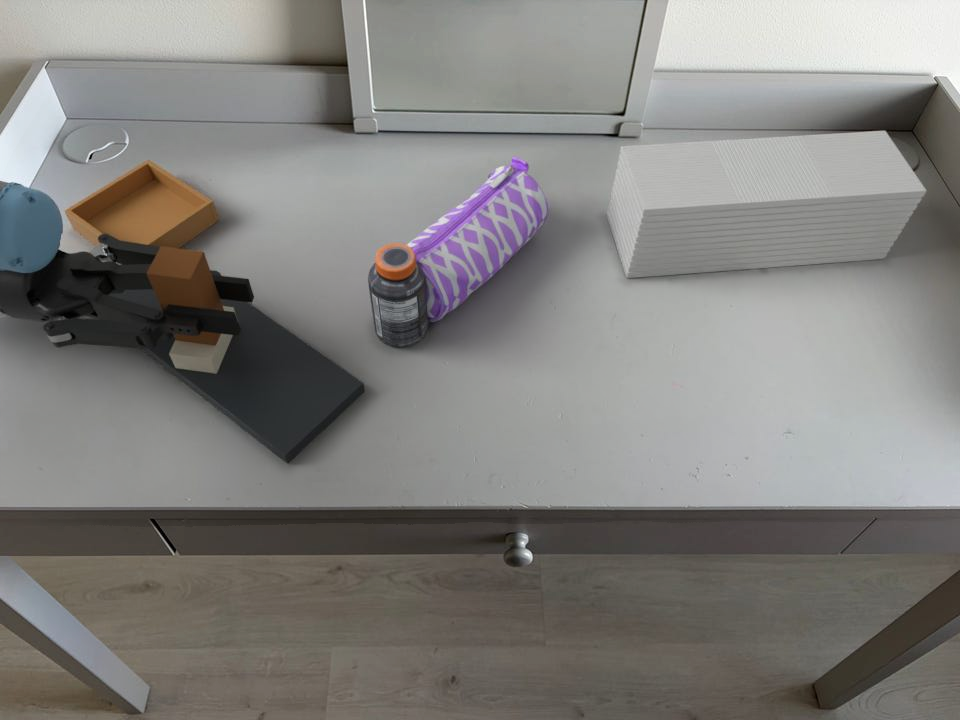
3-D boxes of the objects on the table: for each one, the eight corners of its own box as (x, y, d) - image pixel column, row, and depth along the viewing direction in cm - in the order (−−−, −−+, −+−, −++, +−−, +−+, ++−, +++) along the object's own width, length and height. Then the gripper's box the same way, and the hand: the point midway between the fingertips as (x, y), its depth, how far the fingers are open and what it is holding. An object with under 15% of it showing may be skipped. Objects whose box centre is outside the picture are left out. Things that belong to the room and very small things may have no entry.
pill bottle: (395, 300, 89) (389, 226, 80) (438, 322, 87) (437, 249, 78) (363, 334, 85) (353, 261, 76) (407, 357, 84) (402, 286, 75)
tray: (137, 276, 90) (128, 258, 87) (74, 230, 94) (63, 210, 92) (219, 220, 96) (213, 201, 93) (156, 178, 100) (148, 159, 98)
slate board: (287, 464, 76) (284, 456, 74) (95, 313, 86) (89, 304, 85) (365, 391, 81) (363, 382, 80) (174, 258, 92) (170, 248, 90)
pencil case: (491, 201, 99) (494, 139, 91) (553, 231, 96) (561, 170, 88) (380, 306, 88) (373, 246, 80) (446, 344, 85) (445, 285, 77)
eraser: (216, 374, 80) (184, 293, 70) (175, 368, 80) (137, 286, 70) (238, 322, 84) (211, 238, 74) (199, 316, 84) (166, 233, 74)
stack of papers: (848, 199, 101) (885, 130, 92) (883, 259, 94) (926, 190, 86) (606, 216, 98) (621, 145, 89) (626, 278, 91) (643, 209, 83)
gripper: (67, 248, 86) (275, 272, 84) (-9, 369, 76) (224, 398, 74) (38, 195, 80) (261, 220, 78) (-50, 319, 70) (204, 350, 68)
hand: (243, 307), depth 76 cm, fingers closed on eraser, 4 cm apart
